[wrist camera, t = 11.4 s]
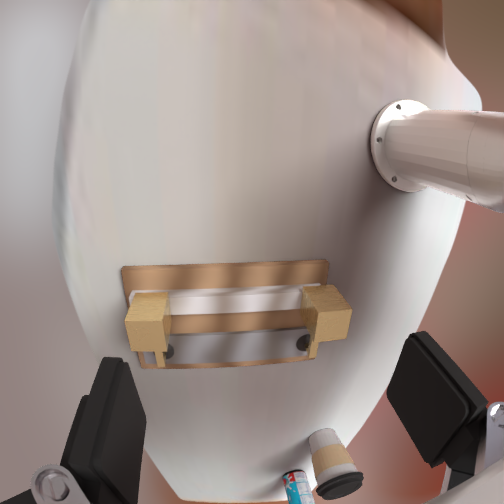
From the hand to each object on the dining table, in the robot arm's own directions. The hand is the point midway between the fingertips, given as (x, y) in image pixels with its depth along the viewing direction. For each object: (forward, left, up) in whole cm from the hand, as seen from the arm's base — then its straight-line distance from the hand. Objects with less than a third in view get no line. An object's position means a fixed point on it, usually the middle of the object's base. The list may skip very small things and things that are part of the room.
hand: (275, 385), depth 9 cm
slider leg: (+9, +15, -26) cm, 31 cm away
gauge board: (0, +16, -28) cm, 32 cm away
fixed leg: (-11, +15, -26) cm, 32 cm away
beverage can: (-15, +67, -28) cm, 74 cm away
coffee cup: (-19, +49, -28) cm, 59 cm away
